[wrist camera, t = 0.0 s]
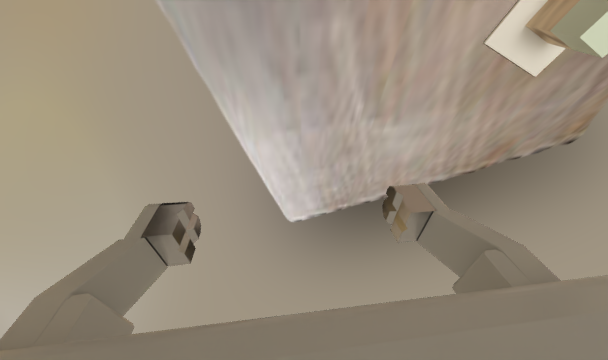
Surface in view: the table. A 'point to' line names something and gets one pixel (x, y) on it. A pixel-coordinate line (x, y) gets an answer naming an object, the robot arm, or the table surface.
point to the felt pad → (523, 39)
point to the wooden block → (550, 20)
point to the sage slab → (585, 27)
